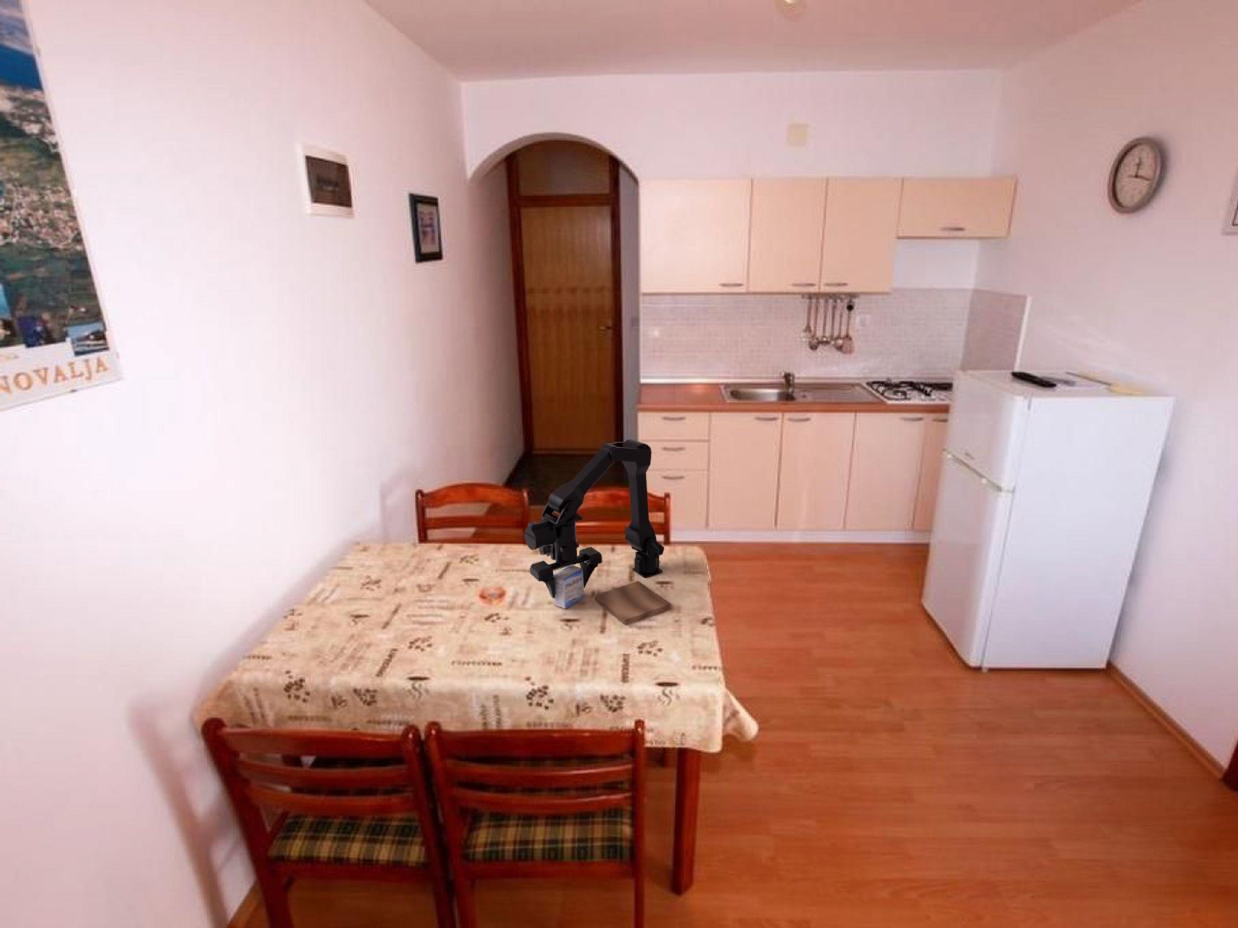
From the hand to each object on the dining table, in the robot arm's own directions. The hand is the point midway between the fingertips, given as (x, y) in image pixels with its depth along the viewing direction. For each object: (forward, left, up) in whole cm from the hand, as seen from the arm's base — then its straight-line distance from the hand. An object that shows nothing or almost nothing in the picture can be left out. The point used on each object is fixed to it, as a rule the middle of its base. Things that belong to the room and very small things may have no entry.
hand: (568, 592), depth 174 cm
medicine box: (0, 0, -3) cm, 3 cm away
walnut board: (-13, +11, -3) cm, 17 cm away
